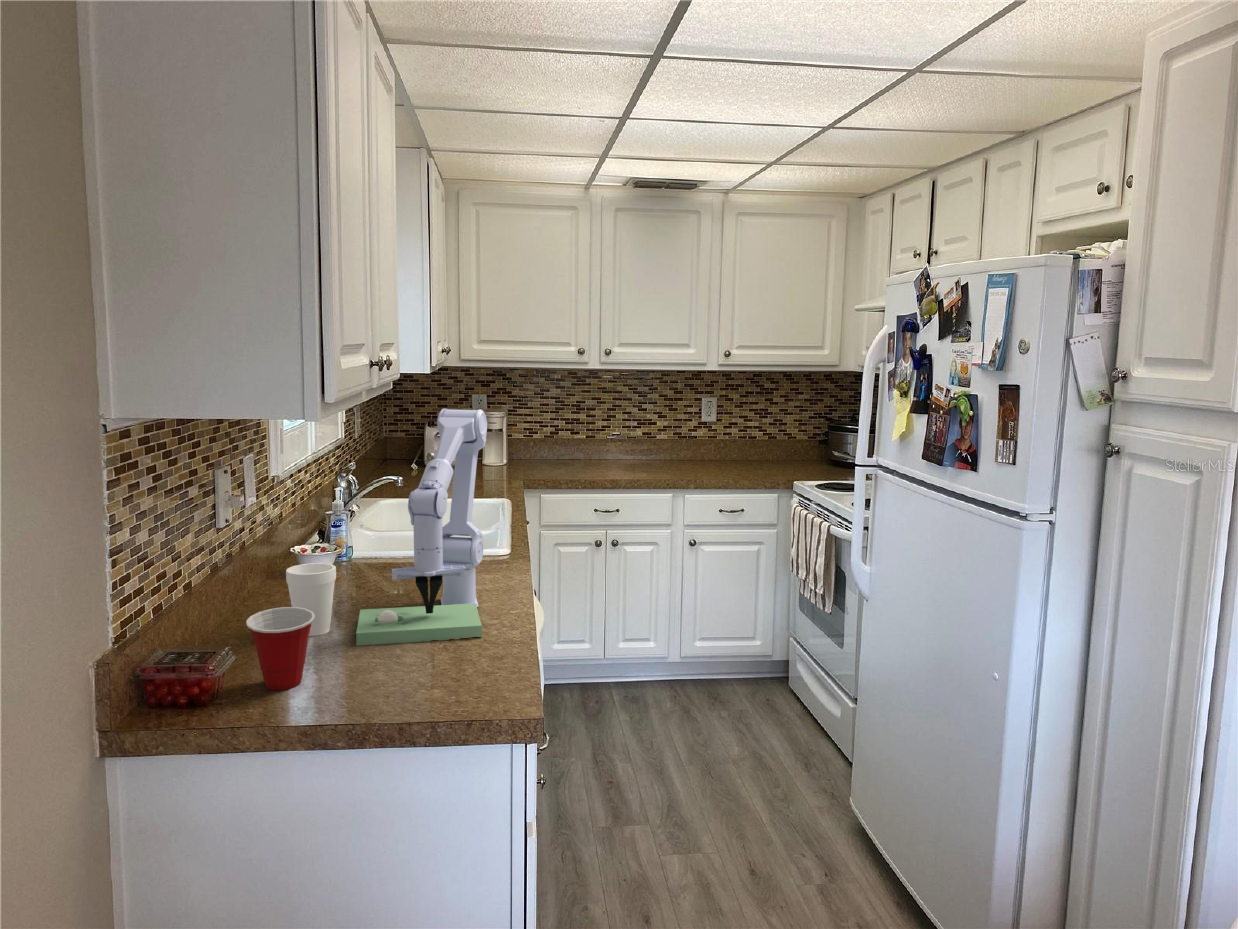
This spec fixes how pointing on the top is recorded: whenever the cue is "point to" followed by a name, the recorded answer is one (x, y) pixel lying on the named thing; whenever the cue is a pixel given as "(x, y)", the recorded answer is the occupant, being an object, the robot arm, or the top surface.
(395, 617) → the ball
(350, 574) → the top surface
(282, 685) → the plastic cup
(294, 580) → the foam cup
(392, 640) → the putting mat
